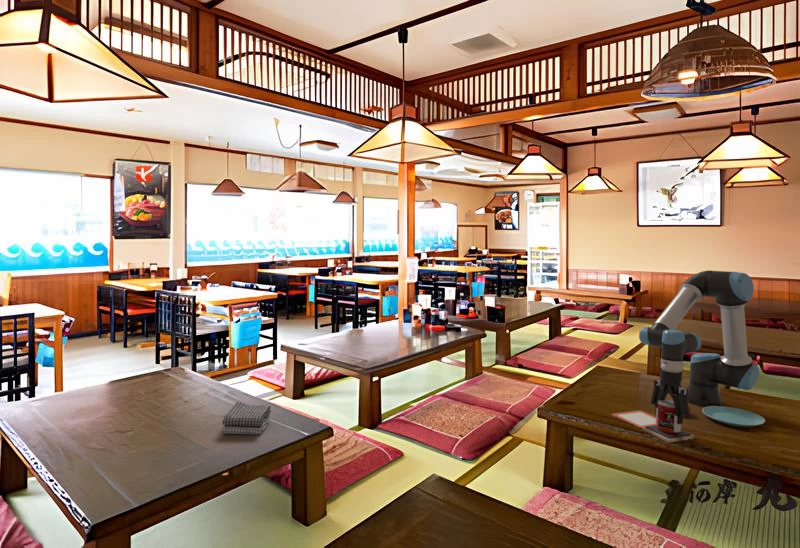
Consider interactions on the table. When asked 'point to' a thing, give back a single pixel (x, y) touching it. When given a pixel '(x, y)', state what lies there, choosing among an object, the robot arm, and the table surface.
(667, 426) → the canned food
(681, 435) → the ink pad
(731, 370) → the robot arm
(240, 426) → the towel
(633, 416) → the print sheet
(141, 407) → the table surface
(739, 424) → the plate
